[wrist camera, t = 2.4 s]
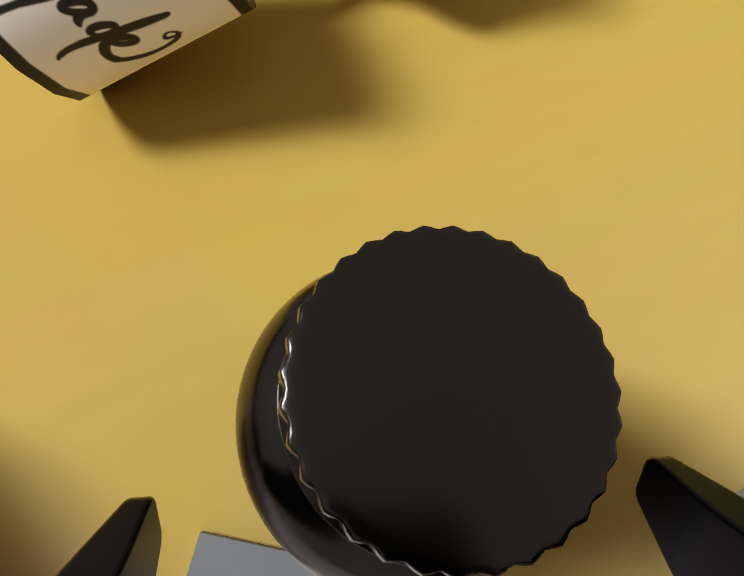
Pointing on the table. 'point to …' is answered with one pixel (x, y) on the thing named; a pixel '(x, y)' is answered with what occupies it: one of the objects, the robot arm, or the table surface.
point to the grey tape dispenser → (102, 37)
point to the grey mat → (241, 558)
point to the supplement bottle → (428, 411)
